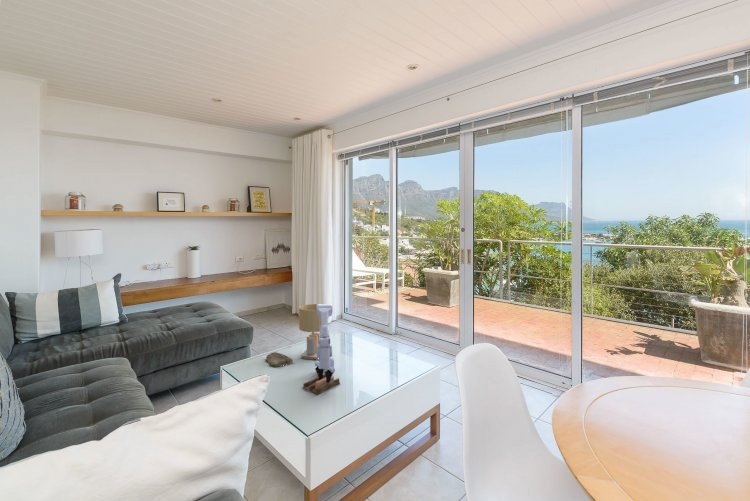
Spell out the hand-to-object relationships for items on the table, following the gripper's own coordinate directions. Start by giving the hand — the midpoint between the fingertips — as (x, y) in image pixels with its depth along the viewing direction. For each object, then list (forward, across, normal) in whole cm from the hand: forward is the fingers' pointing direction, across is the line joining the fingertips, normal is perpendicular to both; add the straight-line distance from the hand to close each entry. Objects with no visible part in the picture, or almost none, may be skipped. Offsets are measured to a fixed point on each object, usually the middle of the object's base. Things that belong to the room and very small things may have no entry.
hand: (324, 380), depth 202 cm
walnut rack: (+4, -2, 0) cm, 5 cm away
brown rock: (+4, -53, +5) cm, 53 cm away
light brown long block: (+3, 0, 0) cm, 3 cm away
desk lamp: (+4, -42, +28) cm, 51 cm away
